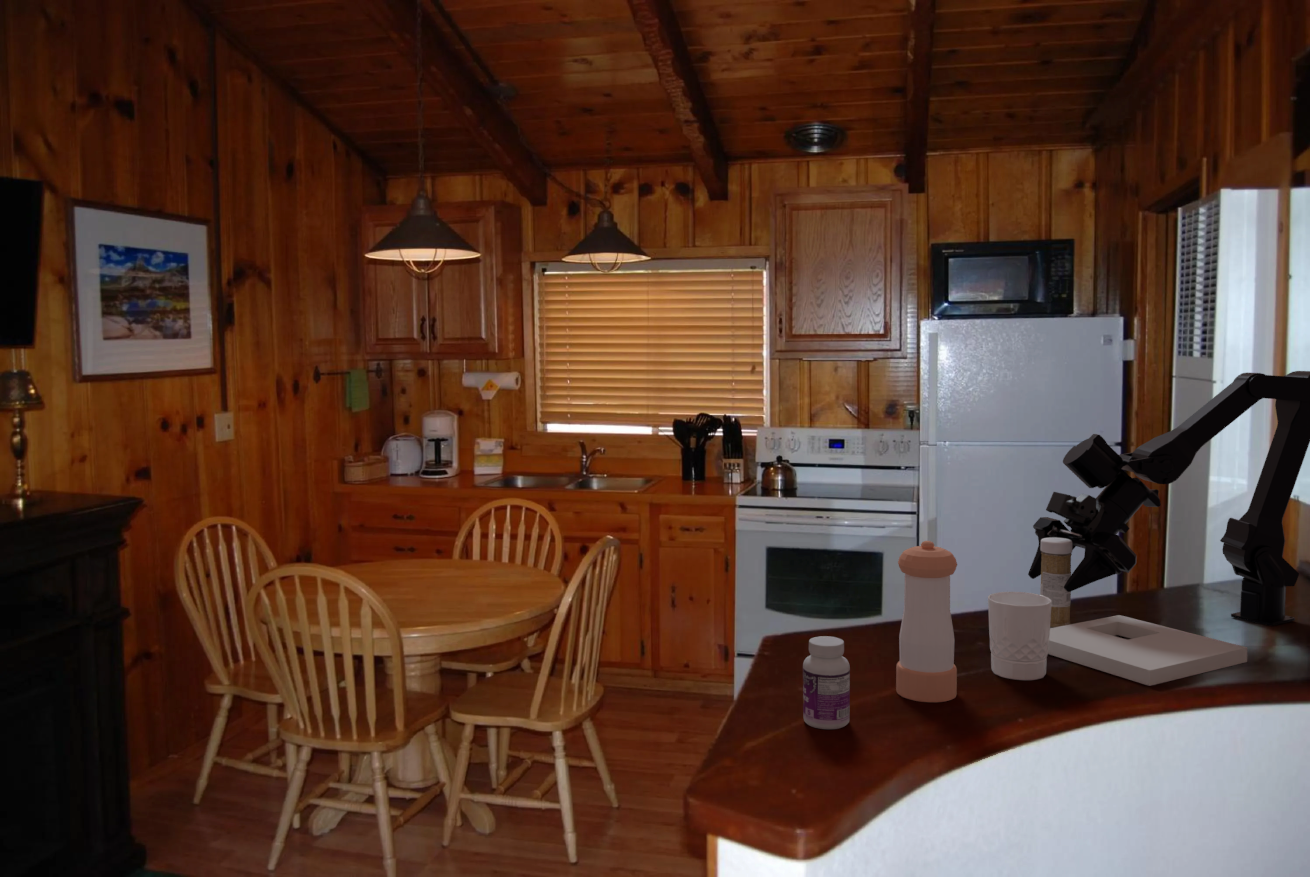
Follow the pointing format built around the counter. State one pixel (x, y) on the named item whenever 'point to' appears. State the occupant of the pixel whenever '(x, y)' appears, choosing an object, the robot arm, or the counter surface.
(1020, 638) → the white cup
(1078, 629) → the block
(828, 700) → the pill bottle
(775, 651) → the counter surface
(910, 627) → the pepper shaker
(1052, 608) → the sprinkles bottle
